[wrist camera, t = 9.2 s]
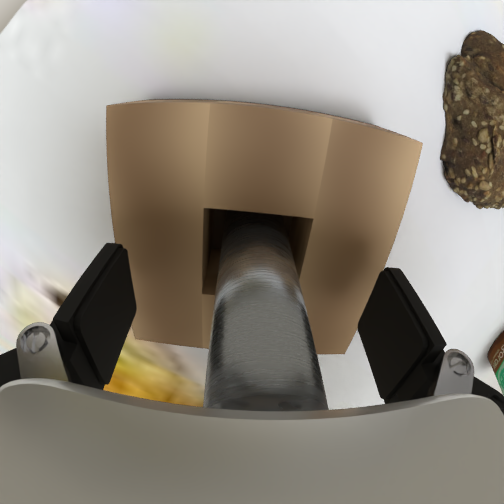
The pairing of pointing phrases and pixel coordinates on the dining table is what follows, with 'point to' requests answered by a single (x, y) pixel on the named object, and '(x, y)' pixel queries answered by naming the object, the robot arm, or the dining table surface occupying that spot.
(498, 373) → the food container
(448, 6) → the dining table surface
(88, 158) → the dining table surface
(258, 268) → the pin
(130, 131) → the bore block
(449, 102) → the bread roll
